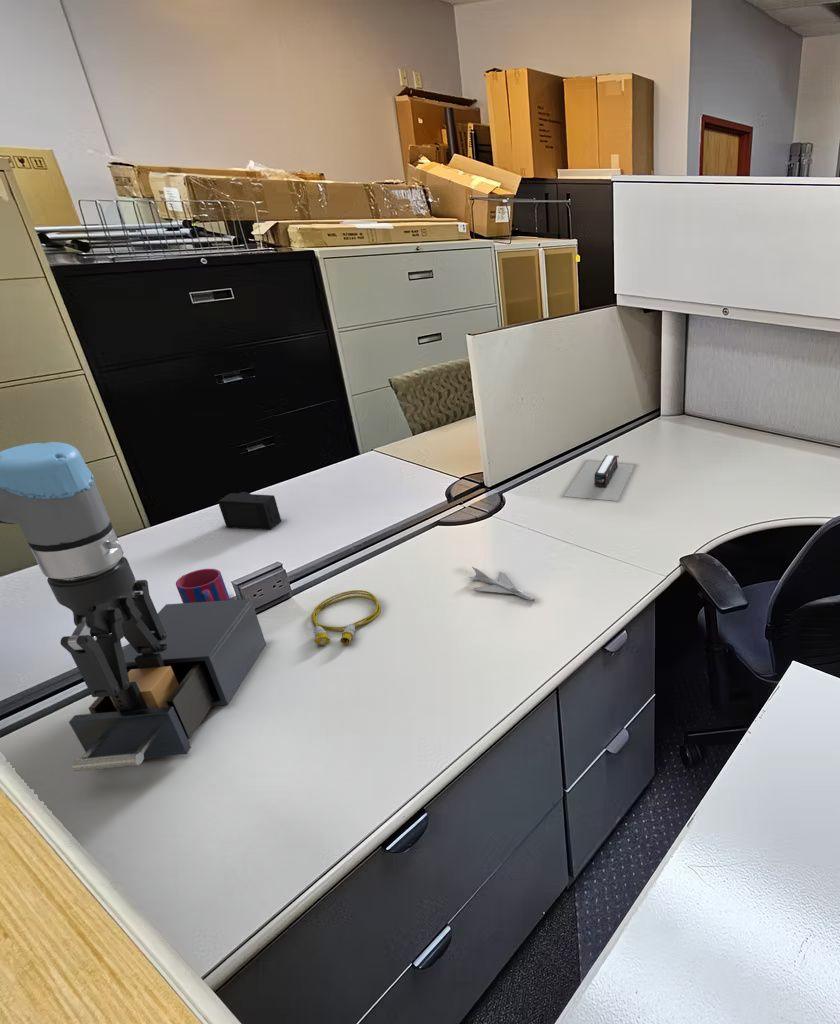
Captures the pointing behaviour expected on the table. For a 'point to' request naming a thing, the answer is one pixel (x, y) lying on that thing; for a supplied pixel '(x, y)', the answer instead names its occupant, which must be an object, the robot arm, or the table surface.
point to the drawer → (145, 723)
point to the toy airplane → (499, 585)
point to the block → (154, 685)
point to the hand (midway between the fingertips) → (151, 705)
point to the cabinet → (211, 640)
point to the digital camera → (249, 511)
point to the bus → (601, 480)
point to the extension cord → (348, 630)
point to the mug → (202, 586)
